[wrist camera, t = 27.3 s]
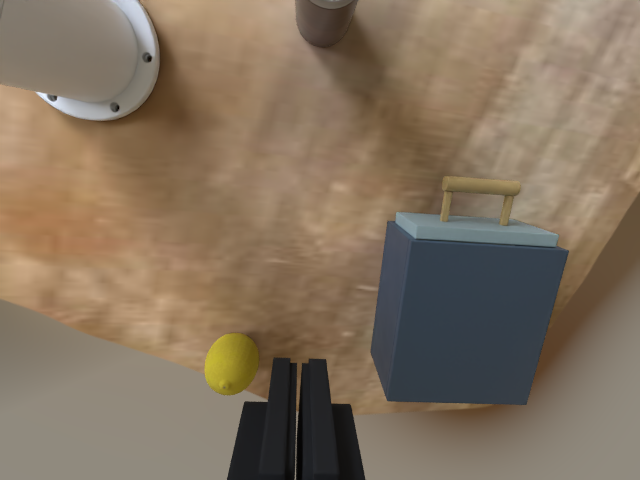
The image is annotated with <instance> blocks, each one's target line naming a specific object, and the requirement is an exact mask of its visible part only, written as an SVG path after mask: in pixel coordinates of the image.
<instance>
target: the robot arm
mask: <svg viewBox="0 0 640 480" xmlns="http://www.w3.org/2000/svg"><path fill="white" fill-rule="evenodd" d="M150 57H152V60H151V62H149V58H150ZM159 67H160V50H159V44H158V38H157V35H156V32H155V29H154V26H153V24H152V21H151V19H150V18H149V16H148V14H147V12H146V10H145V9H144V7H143V6H142V5H141V3H140V2H139V1H138V0H0V84H2V85H6V86H11V87H16V88H21V89H26V90H31V91H35V92H36V93H37V94H38V95H39V96H40V97H41V98H42V99H44V100H45V101H46V102H47V103H49V104H50V105H51V106H53V107H54V108H56V109H58V110H60V111H62V112H63V113H65V114H68V115H71V116H74V117H77V118H81V119H87V120H96V121H106V120H114V119H118V118H121V117H124V116H126V115H128V114H130V113H131V112H133V111H135V110H136V109H138V108H139V107H140V106H141V105H142V104H143V103H144V102H145V101H146V99H147V98H148V96H149V95H150V93H151V92H152V90H153V88H154V86H155V83H156V80H157V78H158V72H159ZM118 106H119V107H120V109H119V111H118V109H117V107H118ZM296 388H297V363H290V358H273V366H272V374H271V381H270V389H269V397H268V402H244V406H243V410H242V414H241V419H240V424H239V428H238V432H237V437H236V441H235V446H234V451H233V455H232V459H231V464H230V468H229V473H228V477H227V480H294V478H295V444H296V441H295V440H296ZM296 459H297V460H296V462H297V463H296V480H365V476H364V470H363V465H362V459H361V454H360V450H359V444H358V439H357V434H356V429H355V423H354V418H353V413H352V408H351V405H350V404H331V397H330V388H329V380H328V371H327V363H326V359H309V363H302V372H301V386H300V400H299V414H298V428H297V456H296Z"/></svg>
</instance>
